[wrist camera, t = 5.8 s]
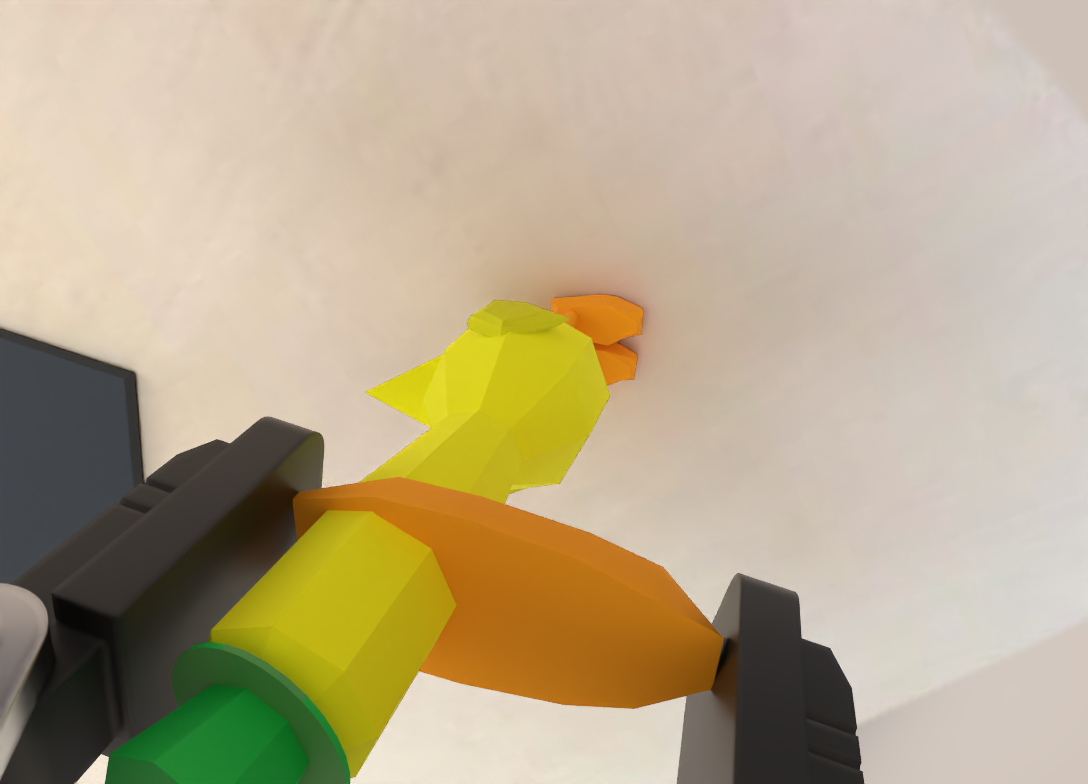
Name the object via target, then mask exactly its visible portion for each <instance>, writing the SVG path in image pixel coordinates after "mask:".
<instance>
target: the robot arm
mask: <svg viewBox="0 0 1088 784" xmlns="http://www.w3.org/2000/svg"><path fill="white" fill-rule="evenodd" d="M323 458H324V440H323V437H322V435H321V434H320V433H318V432H315V431H312V430H309V429H306V428H303V427H300V426H297V425H294V424H291V423H288V422H285V421H282V420H279V419H276V418H273V417H264V418H261V419H260V420H258V421H257V422H256V423H255V424H253V425H252V426H251V427H250V428H249V429H247V430H246V431H245V432H244V433H243V434H241V435H240V436H239V437H238V438H237V439H235V440H234V441H233V442H232V443H227V442H224V441H221V440H218V439H217V440H214V441H211V442H209V443H206V444H204V445H201V446H198V447H196V448H193V449H190V450H188V451H185V452H183V453H180V454H177V455H176V456H175V457H173V458H172V459H171V460H170V461H168V462H167V463H166V464H164V465H163V466H162V467H160V468H159V469H158V470H157V471H155V472H154V473H153V474H151V475H150V476H149V477H147V480H146V482H145V483H144V484H143V483H140V484H138V485H137V486H136V487H135V488H133V489H132V490H131V491H129V492H128V493H127V494H125V495H124V496H123V497H122V498H121V501H120V503H119V504H117V503H114V504H112V505H111V506H110V507H109V508H107V509H106V510H105V511H103V512H102V513H101V514H99V515H98V516H97V517H96V518H94V519H93V520H92V521H90V522H89V523H88V524H86V525H85V526H84V527H83V528H81V529H80V530H79V531H77V532H76V533H75V534H73V535H72V536H71V537H70V538H68V539H67V540H66V541H64V542H63V543H62V544H61V545H59V546H58V547H57V548H55V549H54V550H53V551H51V552H50V553H49V554H48V555H46V556H45V557H44V558H42V559H41V560H40V561H38V562H37V563H36V564H35V565H33V566H32V567H31V568H29V569H28V570H27V571H25V572H24V573H23V574H22V575H20V576H19V577H18V578H16V579H15V580H13V581H12V582H11V583H9V584H4V583H0V784H77V781H78V780H79V778H80V777H81V776H82V775H83V774H84V773H85V772H86V770H87V769H88V768H89V767H90V766H91V765H92V764H93V763H94V761H95V760H96V759H97V758H98V757H99V756H100V755H101V754H103V755H105V756H108V757H109V755H110V753H112V752H113V751H115V750H116V749H118V748H119V747H121V746H122V745H124V744H125V743H127V742H128V741H129V740H131V739H132V738H134V737H135V736H137V735H138V734H140V733H141V732H143V731H144V730H146V729H147V728H149V727H150V726H152V725H153V724H155V723H156V722H158V721H159V720H161V719H162V718H164V717H165V716H167V715H168V714H170V713H171V712H173V711H174V710H176V709H177V708H178V705H177V703H176V700H175V697H174V693H173V686H172V672H173V666H174V664H175V662H176V661H177V659H178V657H179V656H180V655H181V654H182V653H183V652H185V651H186V650H187V649H189V648H191V647H192V646H194V645H195V644H200V643H206V642H208V639H209V635H210V632H211V630H212V628H213V627H214V626H215V625H216V624H217V623H218V622H219V621H220V620H221V619H222V618H223V617H224V616H225V615H226V614H227V613H228V612H229V611H230V610H231V609H232V608H233V607H234V606H235V605H236V604H237V603H238V602H239V601H240V600H241V599H242V598H243V597H244V596H245V595H246V593H247V592H248V591H249V590H250V589H251V588H252V587H253V586H254V585H255V584H256V583H257V582H258V581H259V580H260V579H261V578H262V577H263V576H264V575H265V574H266V573H267V572H268V571H269V570H270V569H271V568H272V567H273V566H274V565H275V564H276V563H277V562H278V561H279V560H280V559H281V557H282V556H283V555H284V554H285V553H286V552H287V551H288V550H289V549H290V548H291V547H292V546H293V545H294V544H295V543H296V542H297V534H296V526H295V518H294V511H293V498H294V497H295V496H296V495H297V494H298V493H299V492H302V491H308V490H315V489H321V487H322V472H323ZM712 626H713V627H714V628H715V629H716V630H717V631H718V633H719V634H720V635H721V636H723V637H724V638H723V643H722V648H721V652H720V657H719V661H718V666H717V670H716V675H715V680H714V683H713V685H712V688H711V690H708V691H704V692H700V693H696V694H692V695H687V698H686V705H685V714H684V724H683V733H682V742H681V751H680V760H679V769H678V778H677V784H864V778H863V772H862V771H860V765H861V756H860V748H859V741H858V736H856V734H855V733H856V729H857V724H856V717H855V709H854V702H853V694H852V688H851V686H850V684H849V682H848V680H847V678H846V677H845V675H844V673H843V671H842V669H841V667H840V666H839V664H838V662H837V660H836V658H835V656H834V655H833V653H832V651H831V649H830V648H828V647H825V646H822V645H819V644H816V643H813V642H810V641H807V640H804V639H802V638H801V621H800V605H799V597H798V595H797V593H796V592H794V591H791V590H788V589H785V588H782V587H779V586H776V585H773V584H770V583H767V582H764V581H761V580H758V579H755V578H752V577H749V576H746V575H743V574H740V573H737V574H736V575H735V576H734V578H733V579H732V581H731V583H730V585H729V587H728V589H727V592H726V594H725V596H724V598H723V601H722V603H721V605H720V607H719V610H718V612H717V614H716V616H715V619H714V621H713V623H712Z"/></svg>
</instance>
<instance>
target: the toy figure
mask: <svg viewBox="0 0 1088 784" xmlns="http://www.w3.org/2000/svg"><path fill="white" fill-rule="evenodd" d="M642 324H643V308H641V307H639V306H637V305H634V304H632V303H630V302H628V301H626V300H624V299H622V298H619V297H617V296H611V295H601V294H597V295H585V296H573V297H561V298H554V299H553V300H552V312H551V311H548V310H545V309H543V308H540V307H537V306H535V305H532V304H529V303H526V302H517V301H502V300H493V301H492V302H491V303H490V304H489V305H487V306H486V307H484V308H483V309H481V310H479V311H478V312H476V313H474V314H473V315H471V316H470V318H469V320H468V322H467V325H468V326H469V328H468V329H467V330H466V331H465V332H464V333H463V334H462V335H461V336H460V337H459V338H458V339H456V340H455V341H454V342H453V343H452V344H451V345H450V346H449V347H448V348H447V349H446V350H445V351H444V353H443V355H441V356H439V357H437V358H435V359H433V360H430V361H428V362H426V363H424V364H422V365H420V366H418V367H416V368H414V369H412V370H410V371H408V372H406V373H404V374H401V375H399V376H397V377H395V378H393V379H391V380H389V381H387V382H385V383H383V384H381V385H379V386H377V387H374V388H372V389H370V390H368V391H366V392H365V393H367V394H369V395H370V396H372V397H374V398H376V399H378V400H380V401H382V402H384V403H386V404H387V405H389V406H391V407H393V408H395V409H397V410H399V411H401V412H402V413H404V414H406V415H408V416H410V417H412V418H414V419H416V420H417V421H419V422H421V423H423V424H425V425H427V426H429V427H431V429H430V430H428V431H427V432H426V433H424V434H423V435H422V436H420V437H419V438H418V439H416V440H415V441H414V442H412V443H411V444H410V445H408V446H407V447H406V448H404V449H403V450H402V451H400V452H399V453H398V454H396V455H395V456H394V457H392V458H391V459H390V460H388V461H387V462H386V463H384V464H383V465H382V466H380V467H379V468H378V469H376V470H375V471H374V472H372V473H371V474H370V475H368V476H367V477H366V478H364V479H363V480H362V481H360V482H359V483H355V484H348V485H341V486H335V487H328V488H322V489H315V490H308V491H302V492H299V493H298V494H297V495H296V496H295V497H294V498H293V511H294V518H295V526H296V534H297V542H296V543H295V544H294V545H293V546H292V547H291V548H290V549H289V550H288V551H287V552H286V553H285V554H284V555H283V556H282V557H281V559H280V560H279V561H278V562H277V563H276V564H275V565H274V566H273V567H272V568H271V569H270V570H269V571H268V572H267V573H266V574H265V575H264V576H263V577H262V578H261V579H260V580H259V581H258V582H257V583H256V584H255V585H254V586H253V587H252V588H251V589H250V590H249V591H248V592H247V593H246V595H245V596H244V597H243V598H242V599H241V600H240V601H239V602H238V603H237V604H236V605H235V606H234V607H233V608H232V609H231V610H230V611H229V612H228V613H227V614H226V615H225V616H224V617H223V618H222V619H221V620H220V621H219V622H218V623H217V624H216V625H215V626H214V627H213V628H212V630H211V632H210V635H209V639H208V642H206V643H200V644H195V645H194V646H192V647H191V648H189V649H187V650H186V651H185V652H183V653H182V654H181V655H180V656H179V657H178V659H177V661H176V662H175V664H174V666H173V672H172V686H173V693H174V697H175V700H176V703H177V705H178V708H177V709H176V710H174V711H173V712H171V713H170V714H168V715H167V716H165V717H164V718H162V719H161V720H159V721H158V722H156V723H155V724H153V725H152V726H150V727H149V728H147V729H146V730H144V731H143V732H141V733H140V734H138V735H137V736H135V737H134V738H132V739H131V740H129V741H128V742H127V743H125V744H124V745H122V746H121V747H119V748H118V749H116V750H115V751H113V752H112V753H110V755H109V761H108V767H107V774H106V780H105V784H350V778H353V777H356V775H357V774H358V772H359V770H360V769H361V767H362V765H363V764H364V762H365V760H366V759H367V757H368V755H369V754H370V752H371V750H372V749H373V747H374V745H375V744H376V742H377V740H378V739H379V737H380V735H381V734H382V732H383V730H384V729H385V727H386V725H387V723H388V722H389V720H390V718H391V717H392V715H393V713H394V712H395V710H396V708H397V707H398V705H399V703H400V702H401V700H402V698H403V697H404V695H405V693H406V692H407V690H408V688H409V687H410V685H411V683H412V682H413V680H414V678H415V677H416V675H417V673H418V672H419V671H420V672H424V673H427V674H431V675H434V676H437V677H441V678H444V679H448V680H451V681H454V682H458V683H461V684H466V685H470V686H475V687H480V688H485V689H490V690H495V691H500V692H504V693H509V694H514V695H519V696H524V697H529V698H534V699H538V700H543V701H548V702H553V703H558V704H563V705H576V706H595V707H614V708H632V709H635V708H639V707H643V706H647V705H651V704H655V703H659V702H663V701H667V700H671V699H675V698H679V697H683V696H687V695H692V694H696V693H700V692H704V691H708V690H711V688H712V685H713V683H714V680H715V675H716V670H717V666H718V661H719V657H720V652H721V648H722V643H723V638H724V637H723V636H721V635H720V634H719V633H718V631H717V630H716V629H715V628H714V627H713V626H712V624H711V623H710V622H709V621H708V620H707V618H706V617H705V616H704V615H703V614H702V612H701V611H700V610H699V609H698V608H697V607H696V605H695V604H694V603H693V602H692V601H691V599H690V598H689V597H688V596H687V595H686V593H685V592H684V591H683V590H682V589H681V588H680V586H679V585H678V584H677V583H676V582H675V580H674V579H673V578H672V577H671V576H670V574H669V573H668V572H667V571H666V570H665V569H664V567H662V566H660V565H657V564H655V563H653V562H651V561H649V560H647V559H645V558H643V557H640V556H638V555H636V554H634V553H632V552H630V551H628V550H625V549H623V548H621V547H619V546H617V545H615V544H613V543H611V542H608V541H606V540H604V539H602V538H600V537H598V536H596V535H594V534H591V533H589V532H586V531H583V530H580V529H577V528H574V527H571V526H568V525H565V524H562V523H559V522H556V521H553V520H550V519H547V518H544V517H541V516H538V515H535V514H532V513H529V512H526V511H523V510H520V509H518V508H515V507H512V506H509V505H506V504H505V502H506V499H507V497H508V494H511V493H514V492H516V491H519V490H522V489H525V488H530V487H538V486H545V485H553V484H560V482H561V481H562V479H563V477H564V476H565V474H566V472H567V471H568V469H569V468H570V466H571V464H572V463H573V461H574V459H575V458H576V456H577V455H578V453H579V451H580V450H581V448H582V446H583V445H584V443H585V442H586V440H587V438H588V437H589V435H590V433H591V431H592V429H593V427H594V425H595V424H596V422H597V420H598V418H599V416H600V414H601V412H602V410H603V408H604V406H605V405H606V403H607V401H608V399H609V397H610V394H609V391H608V388H607V385H610V384H613V383H616V382H618V381H621V380H634V377H635V371H636V364H637V354H636V353H634V352H632V351H631V350H629V349H627V348H625V347H624V346H622V345H620V344H618V343H617V341H619V340H621V339H623V338H625V337H631V336H636V335H641V334H642Z"/></svg>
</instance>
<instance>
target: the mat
mask: <svg viewBox="0 0 1088 784" xmlns="http://www.w3.org/2000/svg"><path fill="white" fill-rule="evenodd" d="M140 483H143V477H142V465H141V452H140V439H139V427H138V414H137V401H136V389H135V376H134V373H132V372H129V371H126V370H123V369H119V368H116V367H113V366H110V365H107V364H104V363H101V362H98V361H95V360H92V359H89V358H86V357H83V356H80V355H77V354H74V353H71V352H68V351H65V350H62V349H59V348H56V347H53V346H50V345H47V344H44V343H41V342H38V341H35V340H32V339H29V338H26V337H23V336H20V335H17V334H14V333H11V332H8V331H4V330H1V329H0V583H4V584H9V583H11V582H12V581H13V580H15V579H16V578H18V577H19V576H20V575H22V574H23V573H24V572H25V571H27V570H28V569H29V568H31V567H32V566H33V565H35V564H36V563H37V562H38V561H40V560H41V559H42V558H44V557H45V556H46V555H48V554H49V553H50V552H51V551H53V550H54V549H55V548H57V547H58V546H59V545H61V544H62V543H63V542H64V541H66V540H67V539H68V538H70V537H71V536H72V535H73V534H75V533H76V532H77V531H79V530H80V529H81V528H83V527H84V526H85V525H86V524H88V523H89V522H90V521H92V520H93V519H94V518H96V517H97V516H98V515H99V514H101V513H102V512H103V511H105V510H106V509H107V508H109V507H110V506H111V505H112V504H114V503H117V504H119V503H120V501H121V498H122V497H123V496H124V495H125V494H127V493H128V492H129V491H131V490H132V489H133V488H135V487H136V486H137V485H138V484H140Z"/></svg>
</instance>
